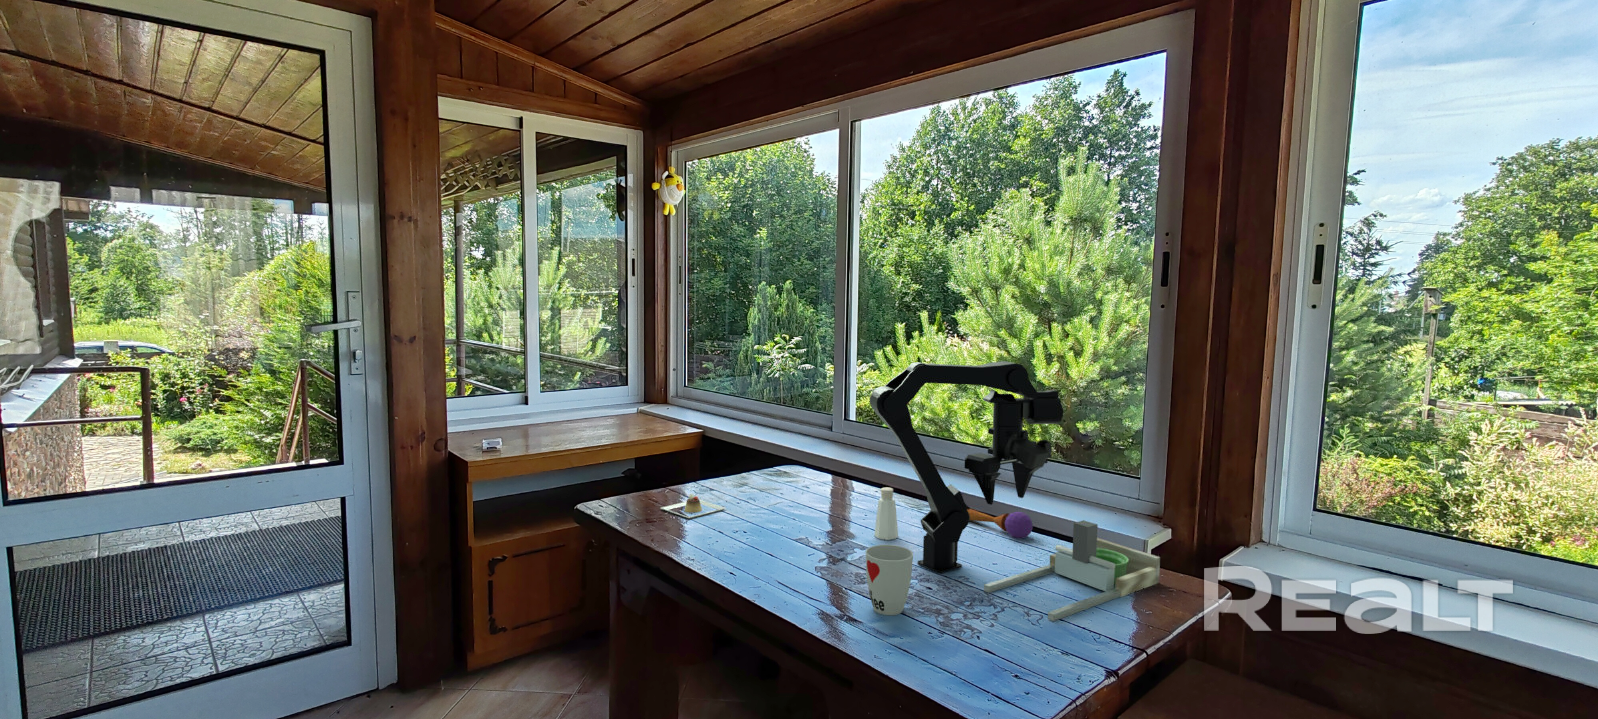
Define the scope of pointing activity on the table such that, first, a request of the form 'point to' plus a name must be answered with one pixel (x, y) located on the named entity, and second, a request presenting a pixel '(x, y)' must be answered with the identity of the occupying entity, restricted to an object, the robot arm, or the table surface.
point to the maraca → (1007, 522)
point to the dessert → (693, 506)
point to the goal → (1138, 576)
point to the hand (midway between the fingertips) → (1005, 500)
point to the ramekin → (1114, 561)
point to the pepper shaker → (886, 516)
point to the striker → (1085, 559)
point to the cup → (888, 577)
